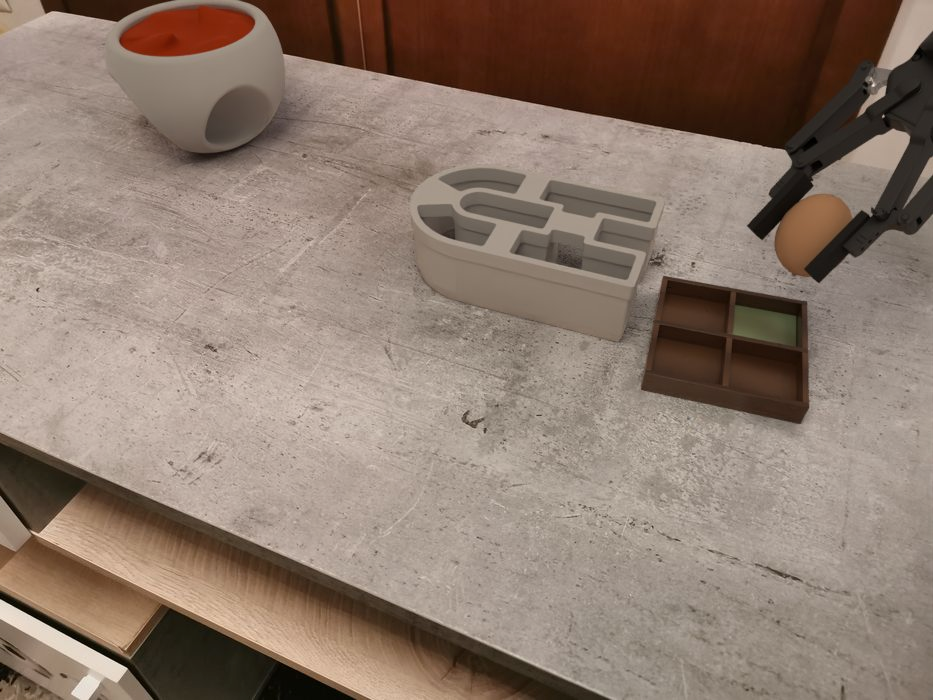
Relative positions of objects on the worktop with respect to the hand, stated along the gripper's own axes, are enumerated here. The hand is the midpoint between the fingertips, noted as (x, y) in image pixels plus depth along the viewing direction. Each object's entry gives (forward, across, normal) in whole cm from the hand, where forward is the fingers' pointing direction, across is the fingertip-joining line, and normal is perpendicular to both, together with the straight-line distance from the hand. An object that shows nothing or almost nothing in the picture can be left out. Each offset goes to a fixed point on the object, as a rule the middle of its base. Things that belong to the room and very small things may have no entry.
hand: (782, 253), depth 66 cm
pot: (+37, +75, +15) cm, 85 cm away
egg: (0, 0, -5) cm, 5 cm away
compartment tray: (+11, +3, -11) cm, 16 cm away
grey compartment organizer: (+19, +24, -3) cm, 31 cm away
